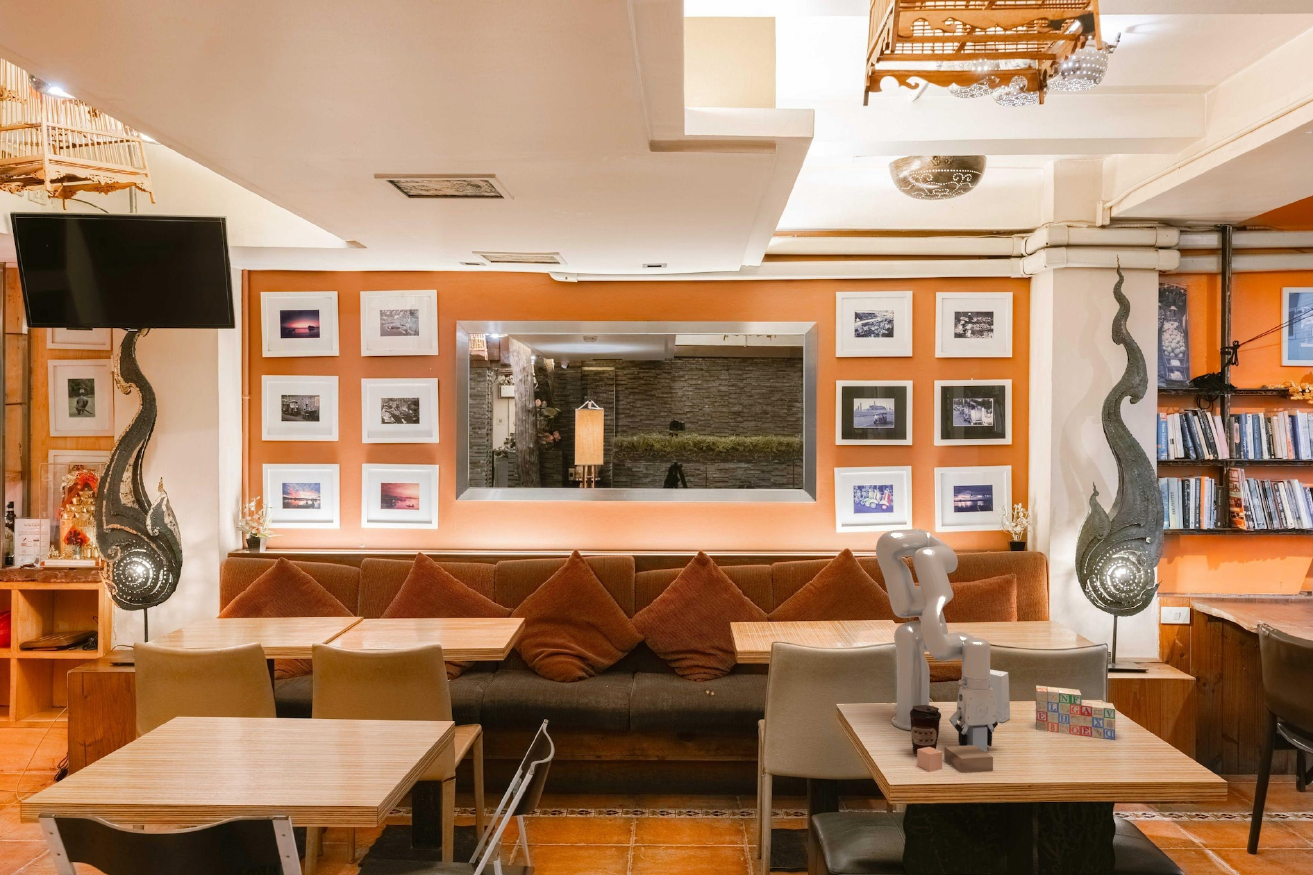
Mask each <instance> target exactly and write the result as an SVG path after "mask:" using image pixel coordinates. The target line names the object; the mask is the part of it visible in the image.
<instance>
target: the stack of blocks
mask: <svg viewBox="0 0 1313 875" xmlns="http://www.w3.org/2000/svg"><path fill="white" fill-rule="evenodd" d="M1035 726H1036V731H1043V732H1048V731H1050V732H1051V733H1057V734H1065V735H1075V736H1081V737H1082V736H1083V737H1088V738H1089V737H1090V738H1098V739H1104V738H1105V740H1112V739H1113V740H1114V741H1115V740H1116V708H1115V706H1114V703H1112V702H1102V701H1094V700H1088V699H1087V700H1085V699H1082V693H1081V690H1080V689H1076V688H1075V689H1073V688H1065V687H1064V688H1063V687H1053V686H1045V685H1035Z"/></svg>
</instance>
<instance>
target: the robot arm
mask: <svg viewBox="0 0 1313 875" xmlns="http://www.w3.org/2000/svg"><path fill="white" fill-rule="evenodd" d="M875 556H876V559H877V563H878V565H879V568H880V570H881V572H882V576H883V579H884V583H885V587H886V591H887V594H888V599H889V603H890V607H891V609H892V612H893V613H894V616H897V617H899V618H903V619H908V618H909V619H910V618H917V617H918V620H915V621H907V622H904V623H901V624H900V625H899V626H897V627H896V629H895V631H894V635H893V638H894V645H895V651H896V660H897V661H896V662H897V665H896V667H897V669H896V670H897V672H896V676H897V677H896V679H897V681H896V682H897V683H896V684H897V685H896V686H897V687H896V688H897V690H896V705H895V706H893V710H894V711H896V716H895V715H894V716H893V717H892V718H891V724H892V725H893V726H895V727H896V728H899V729H902V730H906V731H911V718H910V711H911V710H912V709H913V706H918V705H929V706H930V666H929V665H930V664H929V662H928V660H927V658H926V656H925V653H929V655H930V656H931V657H932V659H934V660H936V661H938V662H948V661H954V660H961V679H959V680H958V684H959V685H960V686H959V690H958V694H957V701H956V711H955V712H954V713H953V714H952V715H951V716H950V717H949V719H948V720H949V722H950V723H951V725H952V727H953V728H954V729H955V730H956V731H957V732H958V737H957V738H958V740H957V741H958V746H967V744H968V735H967V734H966V731H967V729H968V727H969V726H979V725H984V726H986V727H987V747H992V745H993V743H992V742H993V733H994V732H995V729H996V728H997V726H998V725H999V723H1000V722H999V721H1000V720H1001V718H1002V717H1001V715H999V714H998V713H997V712H996V706H995V698H994V693H993V689H992V688H990V670H991V644H990V641H988V640H987V639H984V638H979V637H974V636H972V635H971V634H968V633H966V632H963V631H960V632H958V631H957V632H950V633H949V630H948V626H947V621H946V618H945V615H944V612H943V608H944V607H945V606H946V605H947V604H948V603H949V602H951V601H952V600H953V599H954V591H953V589H952V586H951V583H950V580H949V577H948V574H951V573H953V572H955V571H956V570H957V568H958V566H959V565H958V564H959V560H958V556H957V554H956V552H955V551H954V550H953V548H952V547H951V546H950V545H948V544H947V543H945V541H942V540H941V539H940V538H939V537H937V536H935V535H934V534H933V533H931V532H929V531H927V530H925V529H921V528H919V529H917V528H914V529H895V530H889V531H886V532H884V533H883V534H882V535H881V536H880V537H878V540H877V542H876V546H875ZM903 557H912V558H911V559H912V560H911V561H912V564H913V569H914V571H915V574H916V575H915V576H916V578H917V581H918V583H919V585H915V582H914V579H913V575H912V572H911V568H909V566H908V565H907V563H906V562H905V561H904V560H903V559H902V558H903ZM958 721H959V722H958Z"/></svg>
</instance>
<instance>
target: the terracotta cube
mask: <svg viewBox="0 0 1313 875" xmlns="http://www.w3.org/2000/svg"><path fill="white" fill-rule="evenodd" d="M916 758H917V759H916V763H917V764H916V766H917V767H919V768H921V769H924V770H926V771H928V772H933V771H938V770H942V769H943V751H941V750H938V749H937V748H936V749H934V748H932V747H925V748H921V749H917V755H916Z"/></svg>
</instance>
